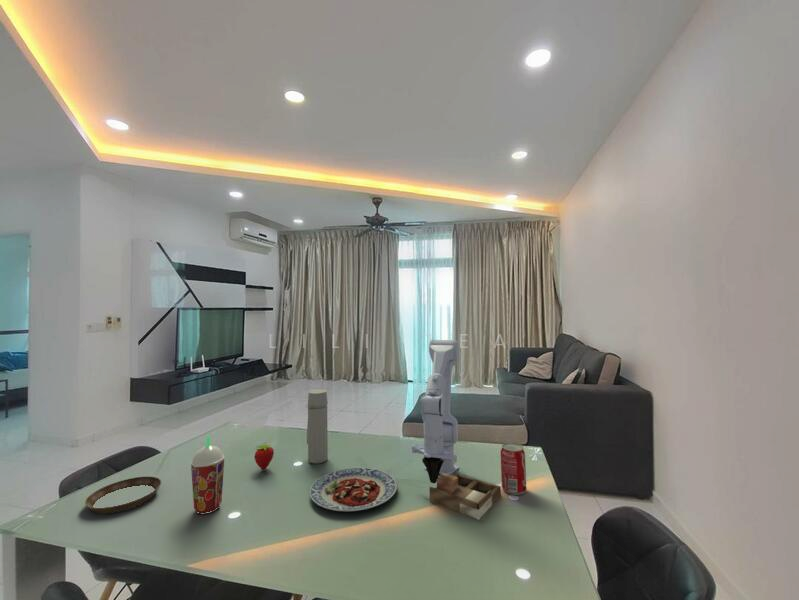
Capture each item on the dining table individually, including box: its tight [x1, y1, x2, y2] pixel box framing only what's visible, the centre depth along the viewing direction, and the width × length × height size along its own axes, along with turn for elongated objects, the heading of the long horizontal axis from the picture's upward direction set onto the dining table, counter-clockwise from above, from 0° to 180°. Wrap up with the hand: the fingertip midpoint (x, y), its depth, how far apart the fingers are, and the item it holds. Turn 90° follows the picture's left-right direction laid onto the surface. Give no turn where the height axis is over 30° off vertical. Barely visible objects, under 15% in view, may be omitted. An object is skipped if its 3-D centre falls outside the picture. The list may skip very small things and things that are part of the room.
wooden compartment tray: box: [429, 472, 502, 520], centre depth 103 cm, size 15×15×4 cm
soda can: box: [500, 442, 527, 496], centre depth 107 cm, size 7×7×13 cm
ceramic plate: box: [309, 467, 398, 512], centre depth 107 cm, size 26×26×3 cm
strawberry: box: [254, 443, 275, 471], centre depth 123 cm, size 6×8×10 cm
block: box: [436, 473, 458, 493], centre depth 104 cm, size 4×4×3 cm
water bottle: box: [305, 389, 329, 465], centre depth 131 cm, size 9×8×25 cm
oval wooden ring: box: [84, 476, 162, 514], centre depth 105 cm, size 18×18×3 cm
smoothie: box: [190, 435, 226, 513], centre depth 99 cm, size 8×8×20 cm
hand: (433, 481), depth 106 cm, fingers closed
